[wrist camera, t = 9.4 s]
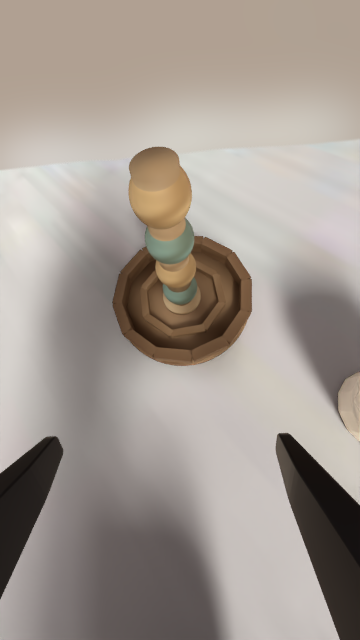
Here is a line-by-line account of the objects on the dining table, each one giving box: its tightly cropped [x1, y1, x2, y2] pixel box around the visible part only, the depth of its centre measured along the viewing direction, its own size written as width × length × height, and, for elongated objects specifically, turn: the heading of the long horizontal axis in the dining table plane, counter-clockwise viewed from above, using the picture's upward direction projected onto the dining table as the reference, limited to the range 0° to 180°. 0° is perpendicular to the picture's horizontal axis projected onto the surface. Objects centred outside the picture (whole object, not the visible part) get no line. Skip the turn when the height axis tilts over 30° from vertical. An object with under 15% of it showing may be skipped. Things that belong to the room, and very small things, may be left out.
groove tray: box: [112, 236, 252, 366], centre depth 23 cm, size 14×14×2 cm
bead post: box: [129, 147, 201, 315], centre depth 17 cm, size 4×4×14 cm
